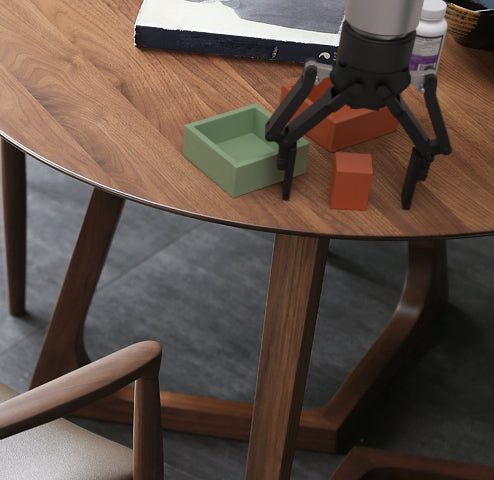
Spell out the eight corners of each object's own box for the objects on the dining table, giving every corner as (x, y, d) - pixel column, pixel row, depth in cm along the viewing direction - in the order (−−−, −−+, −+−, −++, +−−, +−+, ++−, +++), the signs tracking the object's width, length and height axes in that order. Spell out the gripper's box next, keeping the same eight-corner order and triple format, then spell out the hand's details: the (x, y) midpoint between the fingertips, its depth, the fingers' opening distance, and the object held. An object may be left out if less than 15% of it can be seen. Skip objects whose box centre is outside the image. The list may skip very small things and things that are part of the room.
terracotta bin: (396, 130, 135) (402, 101, 132) (330, 153, 131) (335, 123, 128) (342, 93, 142) (347, 65, 139) (278, 114, 138) (281, 85, 135)
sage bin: (305, 173, 128) (310, 143, 125) (233, 198, 124) (236, 167, 121) (253, 132, 134) (256, 102, 131) (182, 154, 130) (184, 124, 127)
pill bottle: (404, 58, 149) (418, -9, 143) (441, 69, 147) (458, 1, 141) (390, 74, 146) (404, 6, 139) (428, 85, 144) (444, 16, 137)
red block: (363, 191, 125) (370, 154, 122) (365, 210, 122) (373, 173, 119) (328, 188, 125) (335, 151, 122) (330, 208, 123) (336, 170, 119)
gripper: (499, 15, 111) (451, 187, 126) (257, -2, 113) (237, 170, 127) (511, 50, 106) (459, 225, 121) (256, 31, 107) (235, 207, 122)
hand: (345, 197), depth 124 cm, fingers open, 13 cm apart
